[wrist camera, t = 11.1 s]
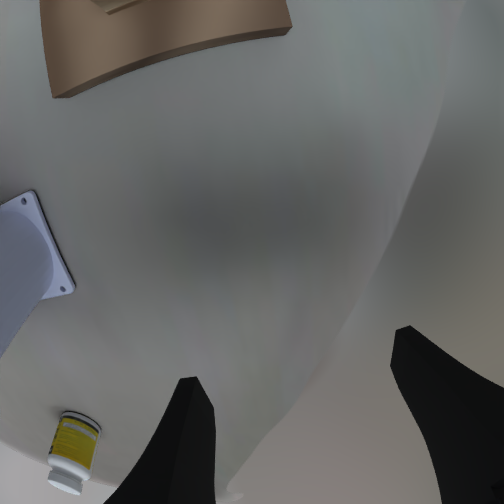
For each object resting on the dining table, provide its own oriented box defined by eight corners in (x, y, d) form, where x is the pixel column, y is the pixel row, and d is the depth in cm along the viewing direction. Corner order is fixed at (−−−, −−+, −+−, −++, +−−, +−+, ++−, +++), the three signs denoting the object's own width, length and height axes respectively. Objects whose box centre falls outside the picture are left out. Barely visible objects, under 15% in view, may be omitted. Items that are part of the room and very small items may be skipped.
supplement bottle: (57, 405, 26) (35, 472, 18) (98, 418, 27) (82, 489, 19) (66, 426, 29) (49, 486, 20) (104, 437, 30) (91, 501, 21)
